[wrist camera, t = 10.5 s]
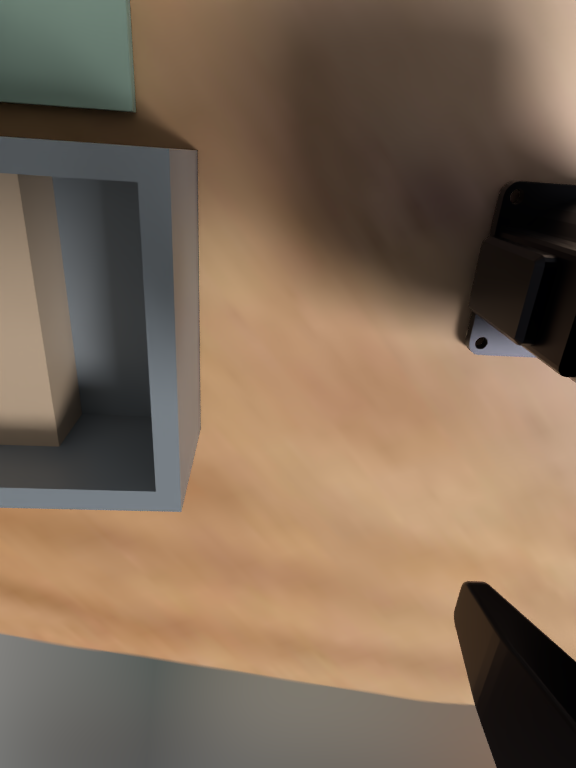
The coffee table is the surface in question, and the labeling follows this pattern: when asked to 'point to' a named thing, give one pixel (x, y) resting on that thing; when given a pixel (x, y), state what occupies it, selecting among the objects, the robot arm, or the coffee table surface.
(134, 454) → the slot box
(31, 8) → the board
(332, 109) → the coffee table surface
